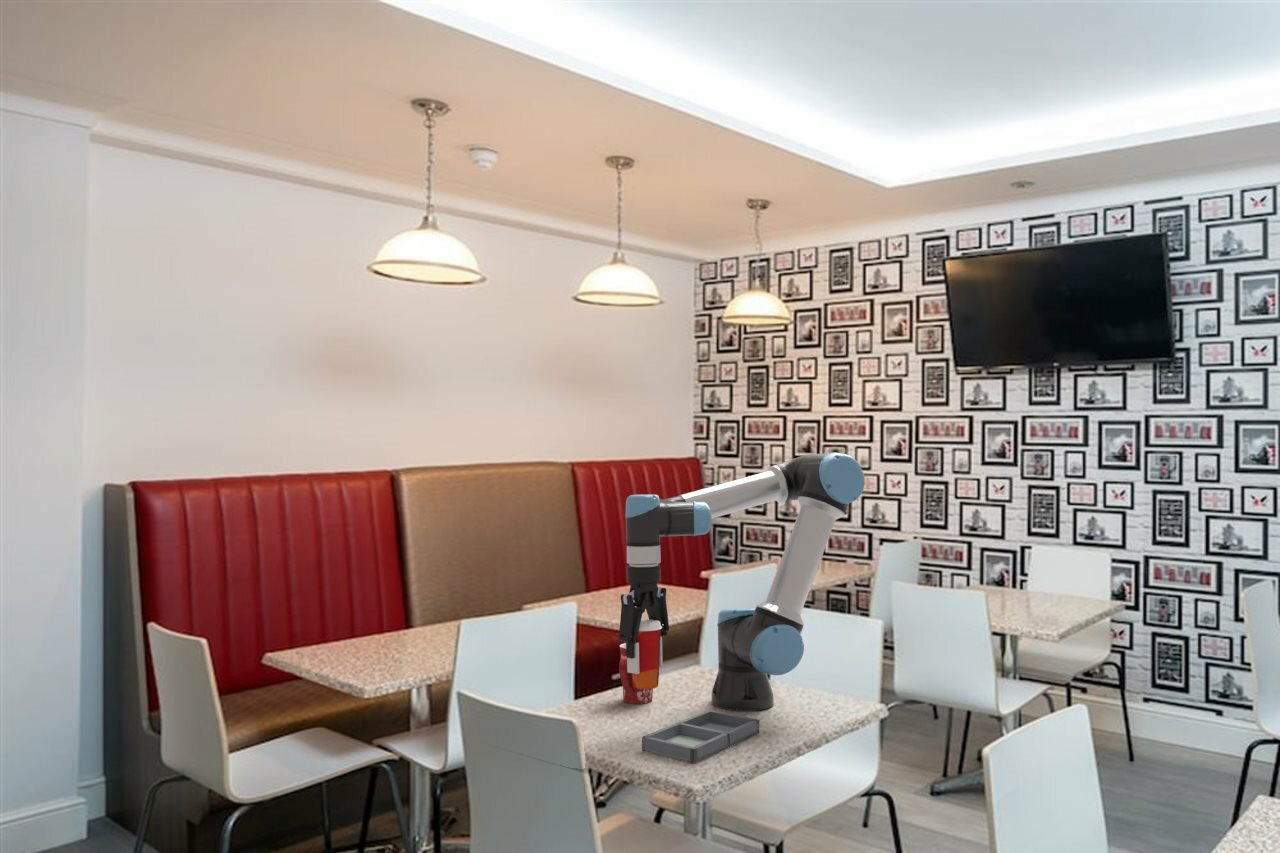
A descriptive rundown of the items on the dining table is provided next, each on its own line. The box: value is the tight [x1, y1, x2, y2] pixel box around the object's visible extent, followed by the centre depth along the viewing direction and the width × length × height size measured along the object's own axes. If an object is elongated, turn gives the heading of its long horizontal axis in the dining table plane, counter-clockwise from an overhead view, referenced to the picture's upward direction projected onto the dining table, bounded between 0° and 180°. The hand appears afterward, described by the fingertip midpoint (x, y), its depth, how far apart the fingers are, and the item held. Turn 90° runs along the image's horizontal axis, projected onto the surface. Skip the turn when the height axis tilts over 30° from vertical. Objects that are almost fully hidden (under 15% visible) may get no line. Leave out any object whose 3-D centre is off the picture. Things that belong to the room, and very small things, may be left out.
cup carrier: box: [641, 709, 760, 765], centre depth 187 cm, size 25×13×3 cm, turn 142°
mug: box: [618, 642, 654, 704], centre depth 218 cm, size 13×9×14 cm
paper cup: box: [631, 618, 662, 690], centre depth 194 cm, size 8×8×14 cm
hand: (645, 668), depth 194 cm, fingers closed on paper cup, 8 cm apart
